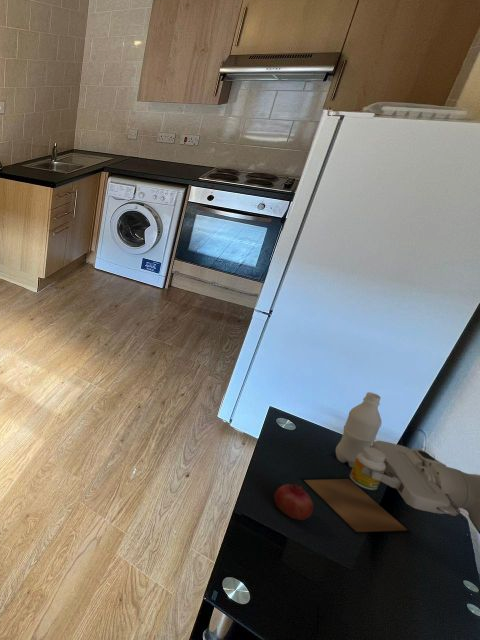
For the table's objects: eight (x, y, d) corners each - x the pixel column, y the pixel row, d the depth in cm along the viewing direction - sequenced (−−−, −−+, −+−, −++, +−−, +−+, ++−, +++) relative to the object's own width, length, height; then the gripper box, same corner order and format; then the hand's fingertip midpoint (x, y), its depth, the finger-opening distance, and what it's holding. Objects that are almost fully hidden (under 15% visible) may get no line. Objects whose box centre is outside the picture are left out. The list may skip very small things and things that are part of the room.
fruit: (299, 533, 104) (310, 503, 101) (265, 508, 111) (274, 479, 108) (314, 519, 108) (324, 490, 105) (280, 496, 114) (289, 468, 112)
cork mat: (406, 532, 105) (407, 529, 105) (355, 534, 104) (356, 531, 104) (348, 481, 120) (349, 478, 120) (303, 482, 119) (304, 479, 119)
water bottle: (331, 450, 132) (355, 385, 124) (361, 460, 128) (387, 393, 120) (334, 464, 126) (359, 396, 119) (365, 475, 122) (393, 406, 115)
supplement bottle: (349, 470, 110) (360, 441, 107) (377, 482, 106) (389, 452, 103) (348, 481, 106) (360, 452, 103) (377, 494, 102) (389, 463, 100)
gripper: (460, 528, 91) (380, 505, 97) (410, 464, 109) (345, 447, 115) (471, 507, 89) (389, 484, 95) (419, 445, 107) (352, 429, 113)
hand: (365, 464), depth 105 cm, fingers closed on supplement bottle, 5 cm apart
